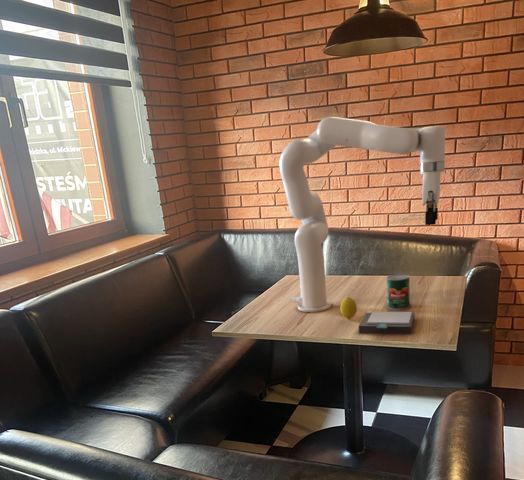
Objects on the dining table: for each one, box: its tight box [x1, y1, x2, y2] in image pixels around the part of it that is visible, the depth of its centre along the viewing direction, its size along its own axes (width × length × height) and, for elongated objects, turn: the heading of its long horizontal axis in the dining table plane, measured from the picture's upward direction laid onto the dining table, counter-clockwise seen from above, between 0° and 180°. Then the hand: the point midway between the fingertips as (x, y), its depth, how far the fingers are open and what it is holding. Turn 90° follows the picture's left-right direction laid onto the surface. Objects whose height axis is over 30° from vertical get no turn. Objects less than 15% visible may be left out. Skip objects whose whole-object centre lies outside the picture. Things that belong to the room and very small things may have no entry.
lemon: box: [339, 296, 358, 320], centre depth 184 cm, size 6×6×8 cm
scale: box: [358, 311, 416, 335], centre depth 173 cm, size 16×16×3 cm
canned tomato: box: [386, 273, 411, 311], centre depth 191 cm, size 8×8×11 cm
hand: (431, 222), depth 176 cm, fingers open, 9 cm apart
